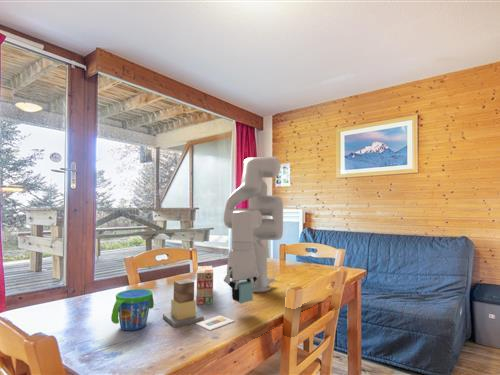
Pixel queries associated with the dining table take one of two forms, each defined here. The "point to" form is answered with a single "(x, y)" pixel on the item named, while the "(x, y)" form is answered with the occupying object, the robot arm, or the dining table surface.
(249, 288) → the teal brick
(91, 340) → the dining table surface
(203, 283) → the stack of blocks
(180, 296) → the walnut brick
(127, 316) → the snack cup
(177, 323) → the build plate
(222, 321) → the tile
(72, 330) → the dining table surface
